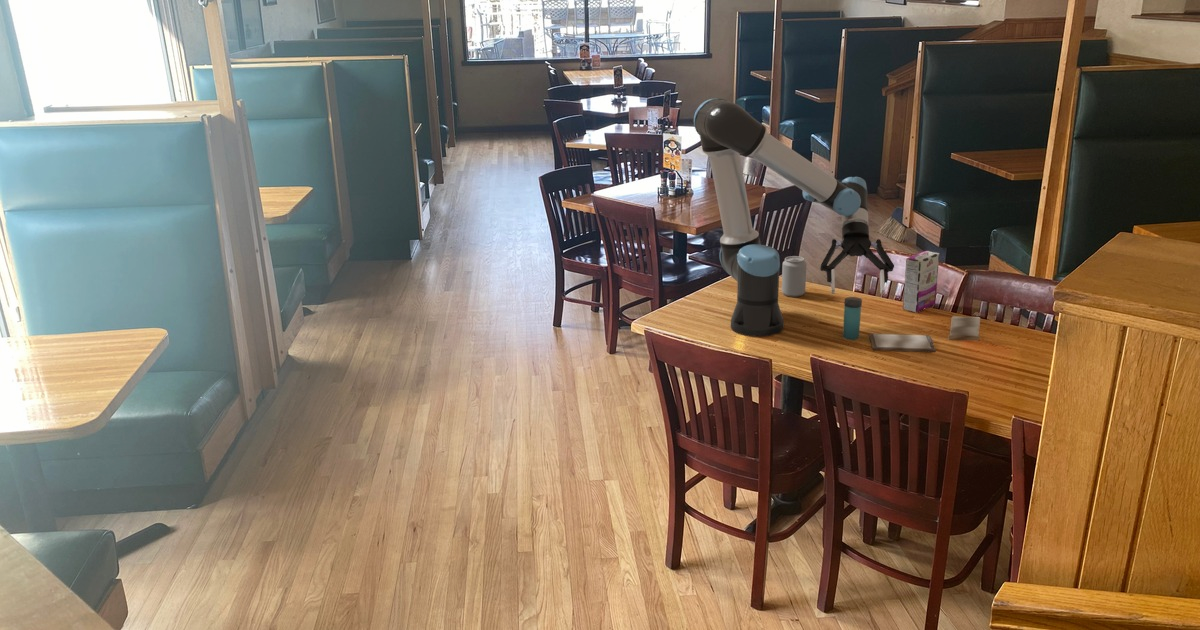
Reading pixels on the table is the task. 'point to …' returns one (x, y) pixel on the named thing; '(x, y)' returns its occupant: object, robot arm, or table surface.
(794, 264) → the can
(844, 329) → the teal lidded bottle
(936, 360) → the table surface
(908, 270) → the candy bar box
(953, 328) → the word sign
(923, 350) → the grey flat rectangular slab
